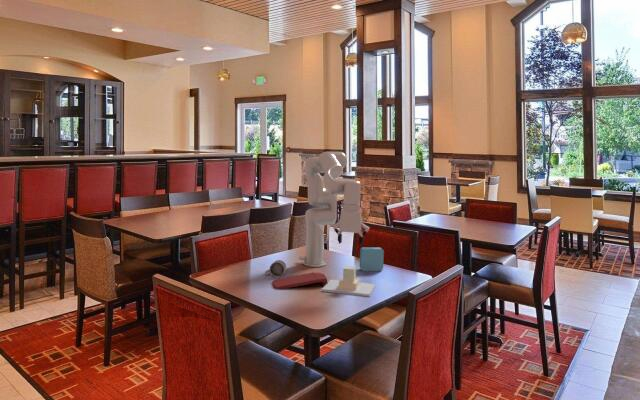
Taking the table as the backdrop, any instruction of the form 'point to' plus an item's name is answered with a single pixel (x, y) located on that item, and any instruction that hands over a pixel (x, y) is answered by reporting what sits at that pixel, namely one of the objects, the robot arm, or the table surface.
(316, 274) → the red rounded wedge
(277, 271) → the ceramic mug
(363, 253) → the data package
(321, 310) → the table surface
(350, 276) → the cream block
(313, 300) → the table surface
